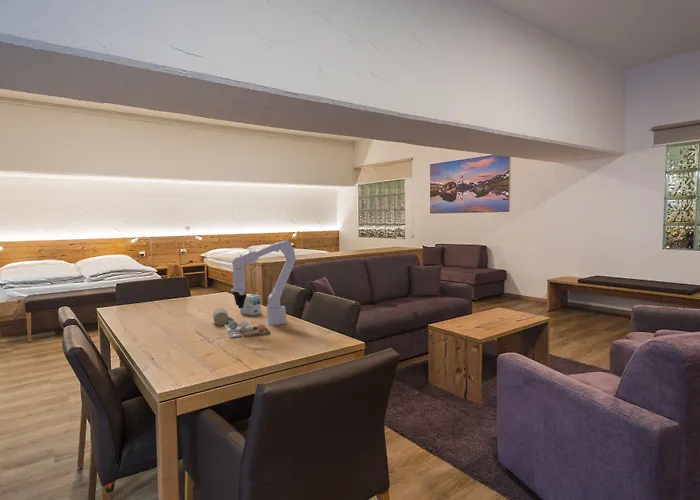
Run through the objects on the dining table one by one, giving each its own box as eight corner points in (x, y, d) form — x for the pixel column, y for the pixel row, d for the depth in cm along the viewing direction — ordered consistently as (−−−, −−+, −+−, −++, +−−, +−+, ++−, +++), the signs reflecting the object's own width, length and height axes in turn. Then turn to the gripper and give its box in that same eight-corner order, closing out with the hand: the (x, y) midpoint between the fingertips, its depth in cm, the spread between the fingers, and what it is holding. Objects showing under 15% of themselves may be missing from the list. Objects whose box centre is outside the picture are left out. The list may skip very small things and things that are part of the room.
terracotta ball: (264, 330, 202) (264, 322, 202) (266, 332, 199) (266, 324, 198) (256, 331, 201) (255, 323, 200) (257, 333, 197) (257, 325, 197)
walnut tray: (264, 328, 206) (264, 325, 206) (270, 335, 195) (270, 331, 195) (240, 331, 201) (240, 328, 201) (244, 338, 190) (244, 334, 190)
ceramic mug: (214, 326, 211) (214, 312, 210) (212, 322, 218) (212, 308, 218) (235, 325, 215) (235, 310, 214) (233, 321, 222) (233, 307, 222)
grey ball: (236, 327, 207) (236, 320, 206) (238, 329, 203) (237, 321, 203) (228, 328, 205) (228, 321, 205) (229, 330, 201) (229, 322, 201)
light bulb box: (261, 313, 239) (261, 295, 238) (253, 315, 233) (252, 297, 232) (248, 311, 245) (248, 293, 244) (239, 313, 239) (239, 295, 238)
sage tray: (248, 325, 213) (248, 322, 213) (253, 331, 202) (253, 327, 202) (224, 328, 208) (224, 324, 208) (228, 334, 197) (227, 330, 197)
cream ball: (247, 326, 209) (246, 318, 208) (248, 328, 205) (248, 320, 205) (239, 327, 207) (238, 319, 207) (240, 329, 203) (240, 321, 203)
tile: (239, 333, 198) (239, 331, 198) (241, 338, 191) (241, 335, 191) (228, 334, 196) (228, 332, 196) (230, 339, 189) (230, 336, 189)
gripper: (228, 278, 216) (229, 304, 217) (233, 283, 203) (233, 310, 204) (242, 278, 219) (243, 303, 220) (247, 281, 206) (248, 308, 207)
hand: (239, 306), depth 212 cm, fingers open, 7 cm apart
